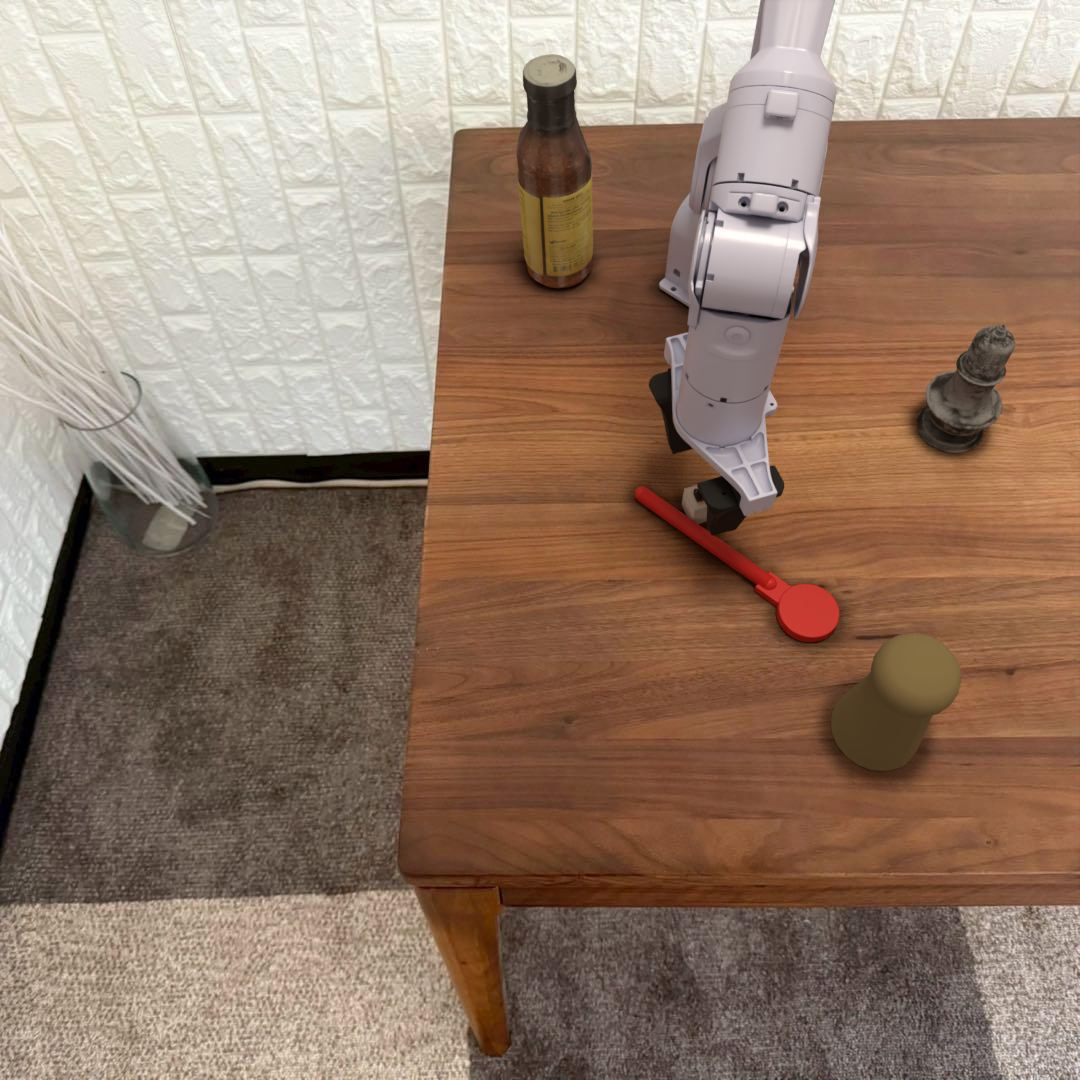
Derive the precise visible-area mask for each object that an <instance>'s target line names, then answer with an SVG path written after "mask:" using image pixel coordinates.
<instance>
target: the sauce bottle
mask: <svg viewBox="0 0 1080 1080" xmlns="http://www.w3.org/2000/svg"><path fill="white" fill-rule="evenodd" d="M577 85H578V80H577V69H576V66H575V64H574V63H573V62H572V61H571V60H570V59H569V58H567V57H565V56H563V55H561V54H554V53H550V54H543V55H539V56H537V57H534V58H531V59H530V60H528V62H527V63H525V65H524V67H523V69H522V87H523V90H524V92H525V93H526V104H527V105H526V107H527V110H526V111H527V112H526V119H527V121H526V123H525V124H524V126H523V127H522V129H521V130H520V132H519V136H518V139H517V146H516V151H515V152H516V162H517V163H516V164H517V176H516V177H517V189H518V198H519V199H518V201H519V211H520V221H521V234H522V244H523V245H522V247H523V256H524V260H525V262H526V267H527V272H528V275H529V277H531V278H532V279H533V280H534V281H536V282H537V283H539V284H541V285H542V286H544V287H547V288H553V289H563V288H571V287H573V286H576V285H577V284H579V283H582V281H583V280H585V279H586V278H587V277H588V274H589V273H590V272H591V269H592V266H593V263H592V262H593V260H592V259H593V255H594V215H593V214H594V213H593V212H594V211H593V210H594V209H593V205H594V204H593V162H592V156H591V152H590V150H589V148H588V146H587V143H586V140H585V137H584V135H583V132H582V129H581V126H580V123H579V120H578V117H577V111H576V99H575V97H576V96H575V90H576V88H577Z"/></svg>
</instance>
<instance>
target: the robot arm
mask: <svg viewBox="0 0 1080 1080" xmlns="http://www.w3.org/2000/svg"><path fill="white" fill-rule="evenodd" d="M835 3H836V0H759V5H758V6H759V7H758V10H757V11H758V12H757V18H756V24H755V29H754V34H753V41H752V47H751V52H750V58H749V60H748V61H747V62H746V63H745V64H744V65H743V66H741V67H740V69H738V70H737V72H735V74H734V75H732V77H731V80H730V82H729V88H728V92H727V93H728V94H727V100H726V102H724V103H721V104H719V105H717V106H715V107H713V108H711V109H710V110H709V112H708V115H707V116H706V117H705V118H704V119H703V122H702V127H701V133H700V137H699V140H698V144H697V148H696V149H697V150H696V155H695V160H694V166H693V172H692V178H691V185H690V191H689V193H688V195H687V196H685V198H684V199H683V201H682V202H681V204H680V205H679V207H678V209H677V211H676V213H675V216H674V218H673V221H672V224H671V227H670V233H669V241H668V247H667V248H668V249H667V257H666V266H665V274H664V278H662V279H661V280H660V281H659V283H658V288H659V289H660V291H661V290H662V291H663V292H665V293H666V294H668V295H669V296H671V297H673V298H674V299H676V300H677V301H679V302H680V303H682V304H684V305H685V306H686V307H688V316H687V324H686V325H687V326H688V331H687V332H684V333H680V334H676V335H671V336H668V337H666V338H665V344H664V349H663V350H664V351H663V357H664V359H665V362H666V363H667V365H669V366H670V367H668V368H667V371H663V372H660V373H656V374H654V375H652V376H651V377H650V379H649V382H648V388H649V391H650V392H651V395H652V396H653V398H654V400H655V402H656V404H657V405H658V407H659V408H660V411H661V414H662V418H663V423H664V429H665V433H666V434H665V435H666V441H667V444H668V447H669V449H670V452H671V453H672V455H676V454H680V453H685V452H688V451H691V450H693V451H695V452H696V453H697V454H698V455H699V456H700V457H701V458H702V459H703V460H705V462H706V463H707V464H708V465H710V466H711V468H713V469H714V470H715V471H716V472H717V473H718V474H719V475H720V476H717V477H713V478H710V479H706V480H702V481H699V482H697V484H696V485H697V487H698V489H699V491H700V493H701V495H702V497H703V499H704V502H705V504H706V505H707V522H706V526H707V529H708V532H710V533H711V535H712V536H718V535H721V534H725V533H729V532H732V531H735V530H737V529H738V528H739V527H740V525H742V522H744V520H745V519H746V518H747V517H748V516H751V515H756V514H758V513H763V512H765V511H768V510H773V507H774V504H775V502H776V498H779V497H781V496H782V495H783V493H784V490H785V482H784V480H783V477H782V476H781V474H780V472H779V470H778V468H777V467H776V465H770V456H769V446H768V435H767V423H766V418H767V417H772V416H774V415H775V414H776V412H777V410H778V402H777V400H776V399H775V397H774V394H773V393H772V391H771V386H772V383H773V379H774V375H775V372H776V369H777V365H778V361H779V358H780V354H781V350H782V348H783V343H784V339H785V336H786V331H787V329H788V325H789V321H790V318H791V314H792V310H793V319H794V320H798V318H799V316H800V314H801V312H802V310H803V307H804V306H805V303H806V300H807V298H808V294H809V291H810V286H811V282H812V278H813V275H814V274H813V273H814V268H815V263H816V258H817V252H818V245H819V244H818V243H819V215H820V214H819V213H820V207H821V200H822V197H821V196H820V193H821V187H822V182H823V175H824V172H825V171H824V170H825V163H826V159H827V153H828V145H829V143H828V142H829V135H830V131H831V125H832V119H833V115H834V108H835V104H836V99H837V93H838V91H837V86H836V83H835V81H834V80H833V78H832V76H831V75H830V73H829V71H828V69H827V68H826V66H825V64H824V62H823V60H822V58H821V57H822V56H821V55H822V52H823V47H824V44H825V41H826V36H827V32H828V30H829V25H830V22H831V19H832V13H833V11H834V7H835ZM797 268H798V279H797V282H796V283H797V284H796V290H795V285H794V284H795V279H796V273H797ZM794 291H795V297H794V304H793V293H794Z"/></svg>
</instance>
